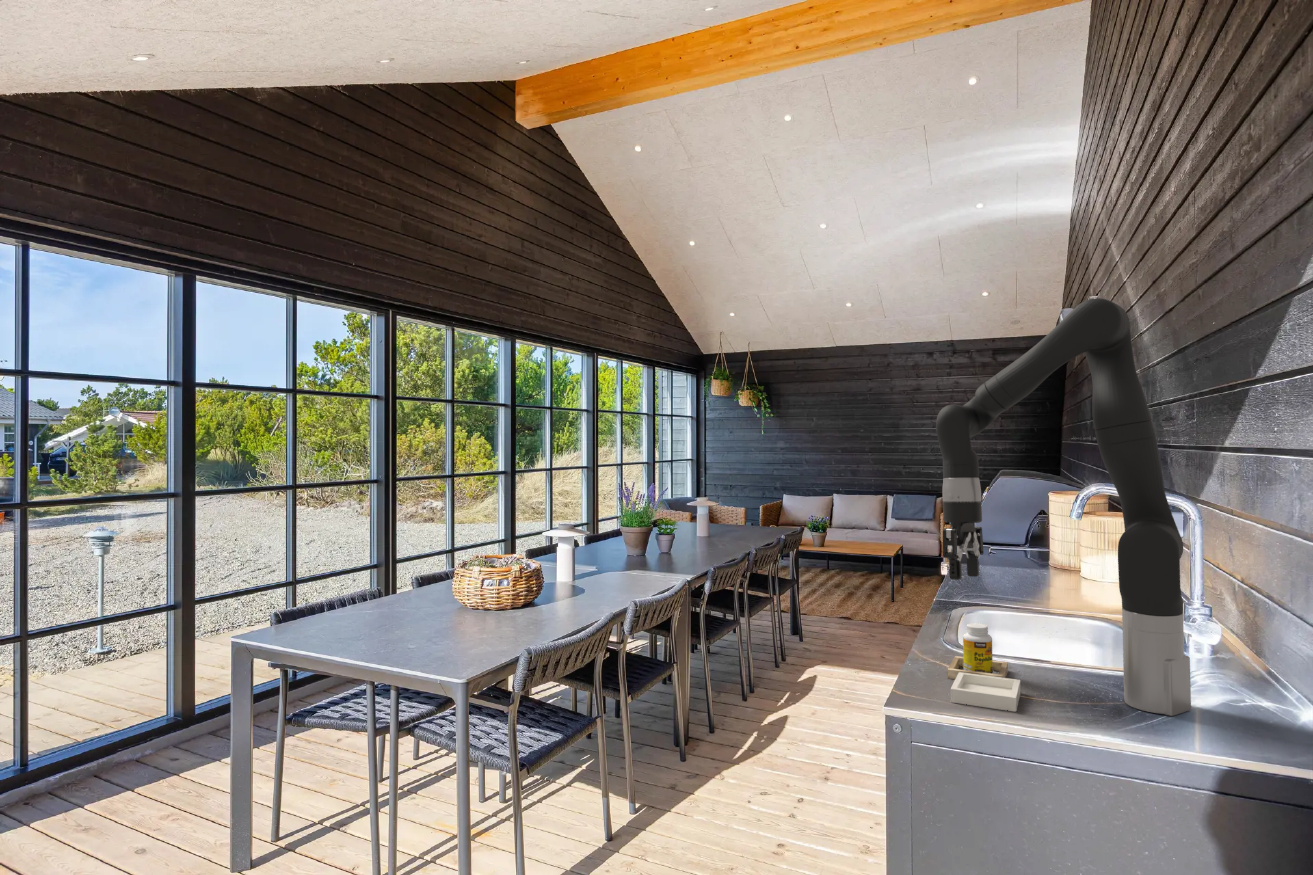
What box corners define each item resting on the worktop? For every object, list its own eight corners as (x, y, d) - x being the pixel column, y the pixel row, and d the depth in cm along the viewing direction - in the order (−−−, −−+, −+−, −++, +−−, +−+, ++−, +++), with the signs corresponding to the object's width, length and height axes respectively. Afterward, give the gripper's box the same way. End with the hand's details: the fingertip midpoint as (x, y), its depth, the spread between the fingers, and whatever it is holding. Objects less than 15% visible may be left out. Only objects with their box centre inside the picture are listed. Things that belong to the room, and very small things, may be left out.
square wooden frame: (1008, 670, 155) (1007, 662, 155) (1003, 685, 146) (1003, 676, 146) (955, 664, 160) (955, 655, 160) (947, 678, 151) (947, 669, 151)
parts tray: (1020, 692, 142) (1020, 679, 142) (1016, 711, 132) (1015, 697, 132) (959, 684, 147) (959, 671, 147) (950, 702, 138) (950, 688, 138)
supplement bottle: (973, 679, 150) (972, 629, 150) (958, 671, 156) (957, 622, 156) (998, 677, 151) (997, 627, 151) (983, 669, 156) (982, 621, 156)
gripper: (965, 500, 148) (968, 582, 146) (993, 499, 158) (996, 576, 156) (929, 500, 153) (931, 579, 152) (958, 499, 163) (961, 573, 162)
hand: (964, 577), depth 154 cm, fingers open, 8 cm apart
